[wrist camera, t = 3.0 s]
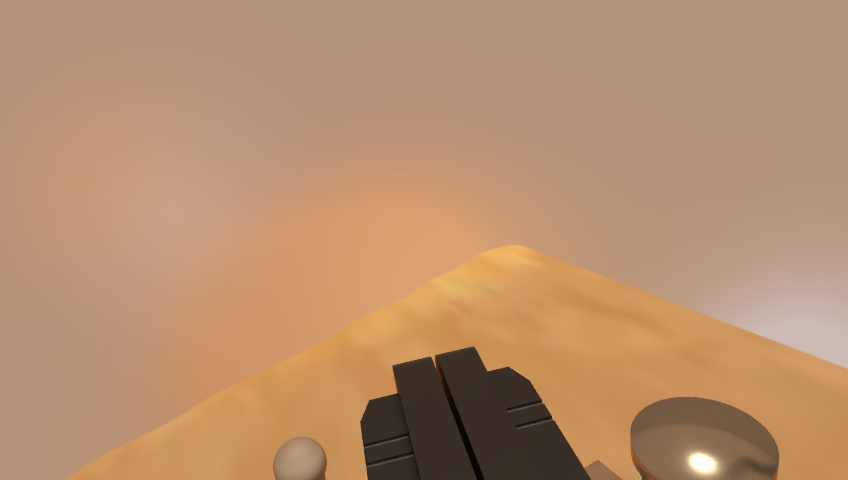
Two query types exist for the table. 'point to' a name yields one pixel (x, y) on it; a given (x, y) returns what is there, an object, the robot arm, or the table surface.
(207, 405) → the table surface
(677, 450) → the capstan
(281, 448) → the base
